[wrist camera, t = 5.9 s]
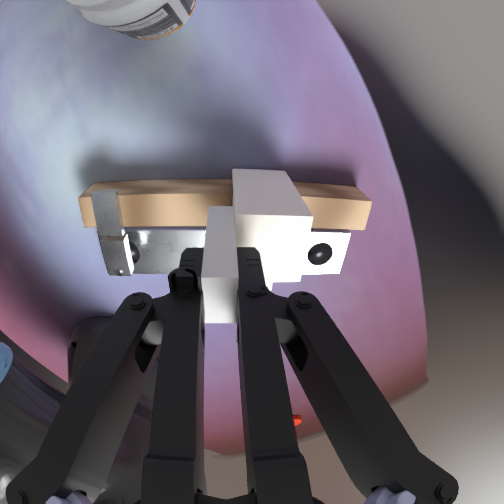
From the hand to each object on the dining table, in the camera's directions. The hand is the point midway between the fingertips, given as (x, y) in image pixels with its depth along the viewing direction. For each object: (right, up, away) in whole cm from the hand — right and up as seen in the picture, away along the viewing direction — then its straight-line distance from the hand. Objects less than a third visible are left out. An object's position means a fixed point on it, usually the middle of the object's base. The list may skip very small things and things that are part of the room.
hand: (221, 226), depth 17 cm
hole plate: (-1, -1, +7) cm, 8 cm away
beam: (0, +3, +5) cm, 6 cm away
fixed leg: (-9, +1, +4) cm, 10 cm away
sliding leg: (+2, +1, +6) cm, 6 cm away
